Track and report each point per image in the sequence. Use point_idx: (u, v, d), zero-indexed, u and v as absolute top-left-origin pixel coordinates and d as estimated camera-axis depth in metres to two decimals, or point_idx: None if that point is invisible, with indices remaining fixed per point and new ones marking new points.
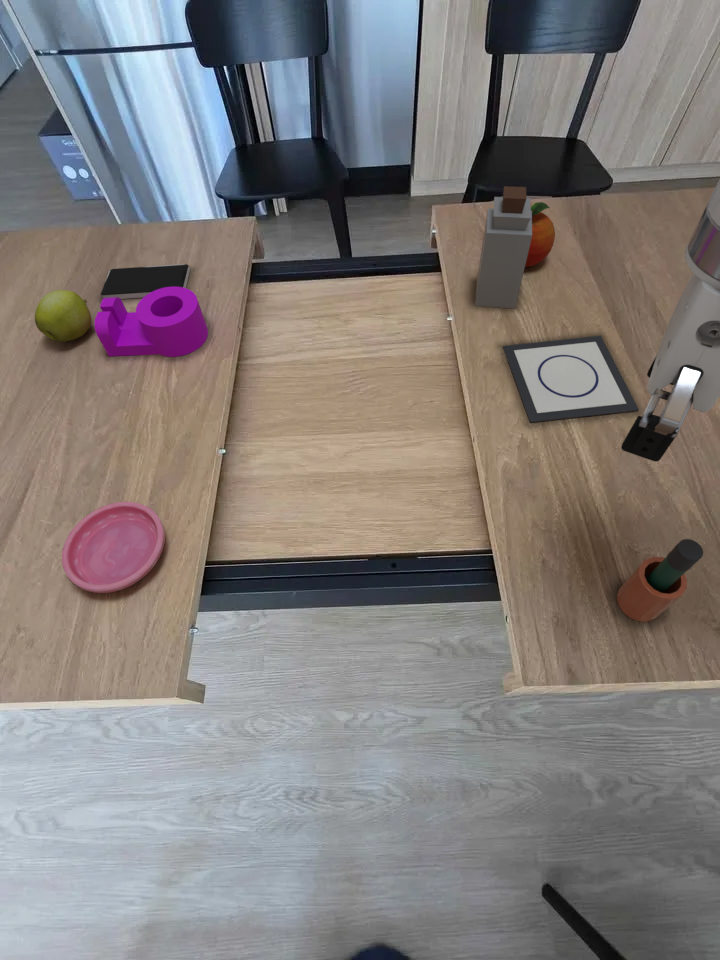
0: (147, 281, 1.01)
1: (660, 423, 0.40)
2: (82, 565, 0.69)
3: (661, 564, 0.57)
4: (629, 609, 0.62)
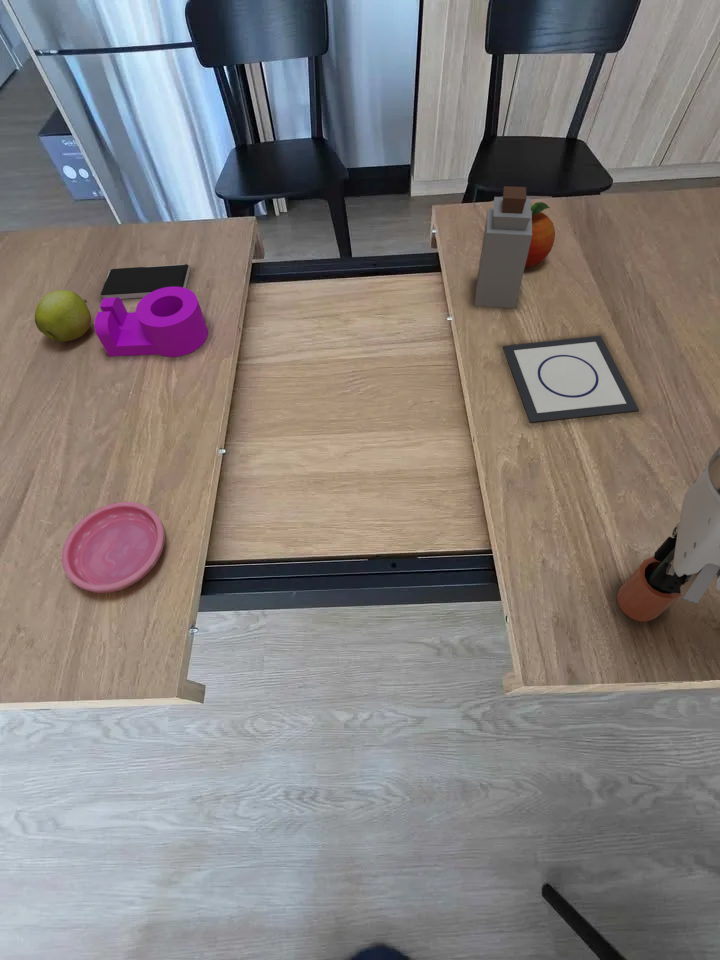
0: (147, 281, 1.01)
1: (682, 597, 0.50)
2: (82, 565, 0.69)
3: (661, 564, 0.57)
4: (629, 609, 0.62)
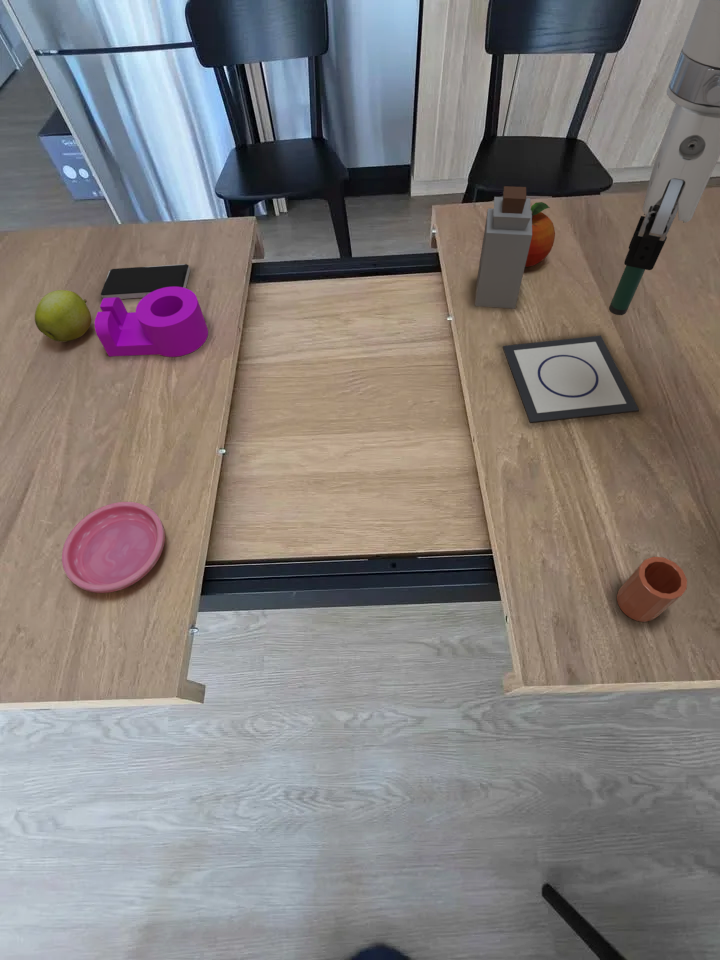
0: (147, 281, 1.01)
1: (649, 235, 0.57)
2: (82, 565, 0.69)
3: None
4: (629, 609, 0.62)
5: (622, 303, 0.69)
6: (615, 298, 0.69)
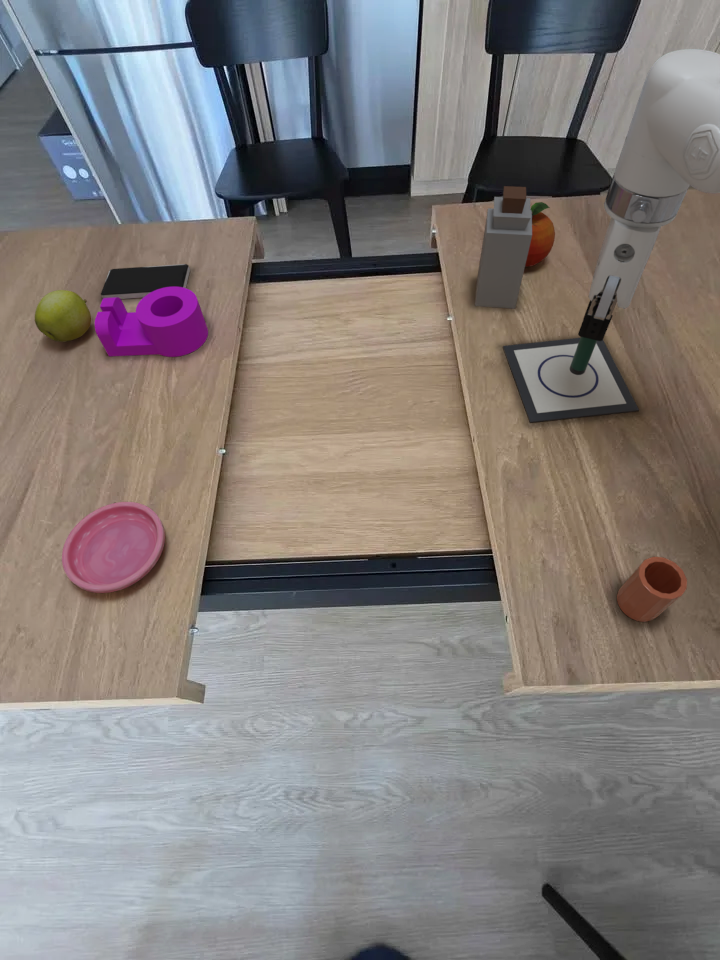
0: (147, 281, 1.01)
1: (594, 318, 0.66)
2: (82, 565, 0.69)
3: None
4: (629, 609, 0.62)
5: (580, 365, 0.78)
6: (573, 360, 0.79)
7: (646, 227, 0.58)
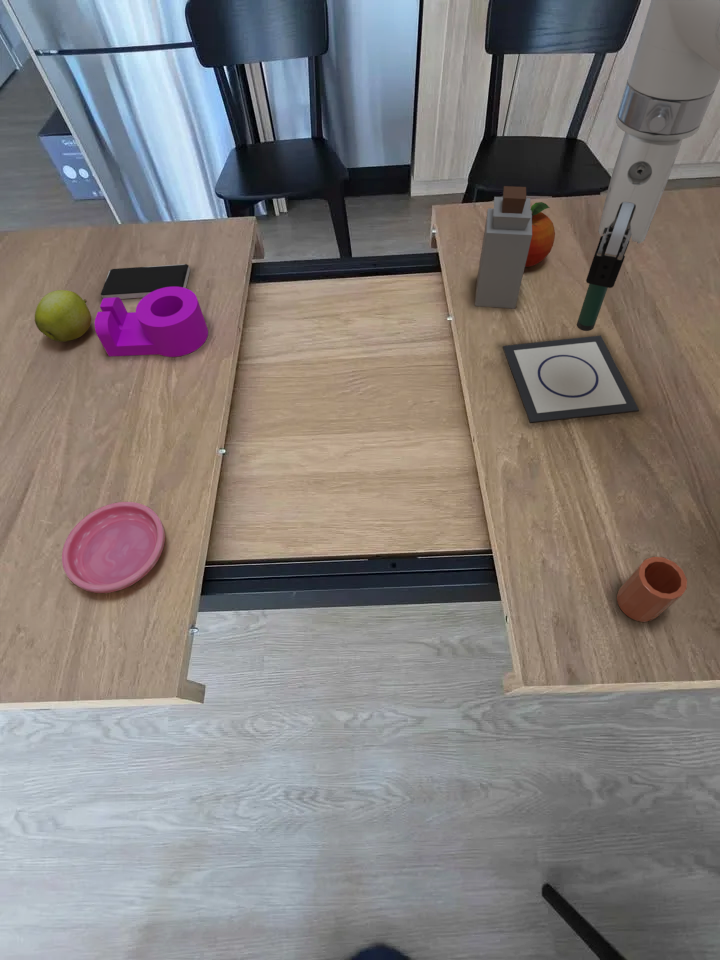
0: (147, 281, 1.01)
1: (605, 255, 0.59)
2: (82, 565, 0.69)
3: None
4: (629, 609, 0.62)
5: (588, 319, 0.71)
6: (581, 314, 0.71)
7: (665, 140, 0.51)
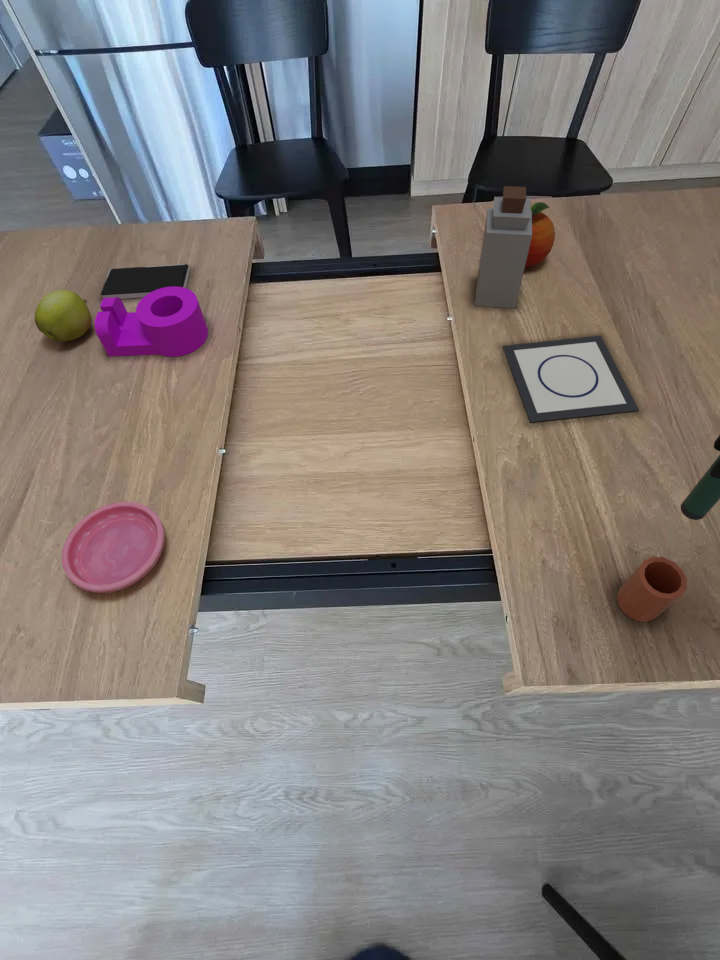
0: (147, 281, 1.01)
1: None
2: (82, 565, 0.69)
3: None
4: (629, 609, 0.62)
5: (701, 509, 0.51)
6: (690, 501, 0.51)
7: None
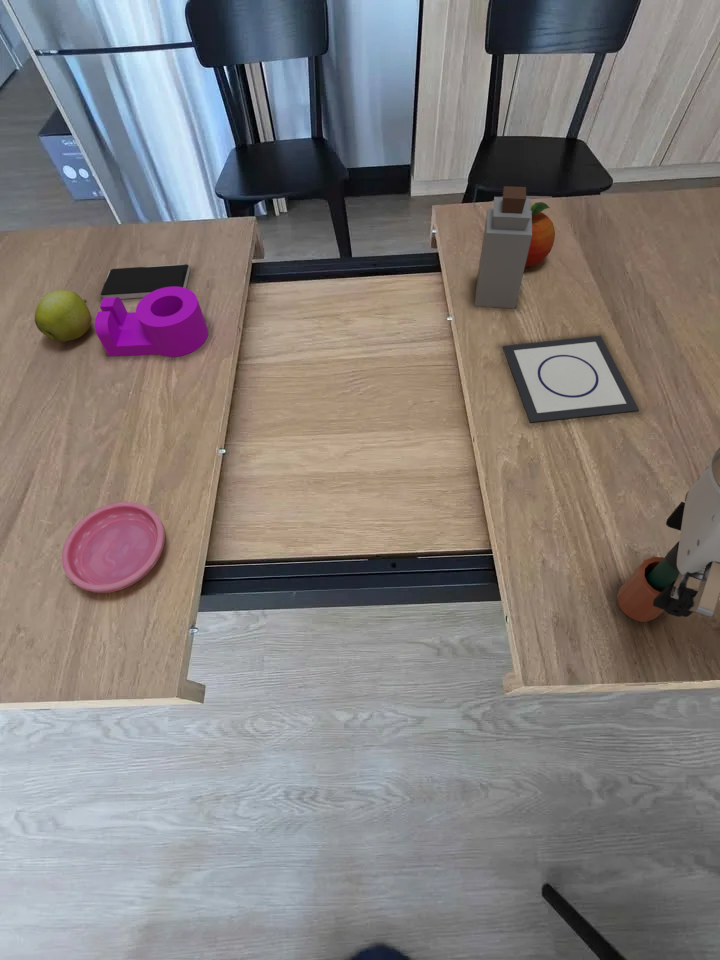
0: (147, 281, 1.01)
1: (695, 611, 0.46)
2: (82, 565, 0.69)
3: (660, 564, 0.57)
4: (629, 609, 0.62)
5: None
6: None
7: None
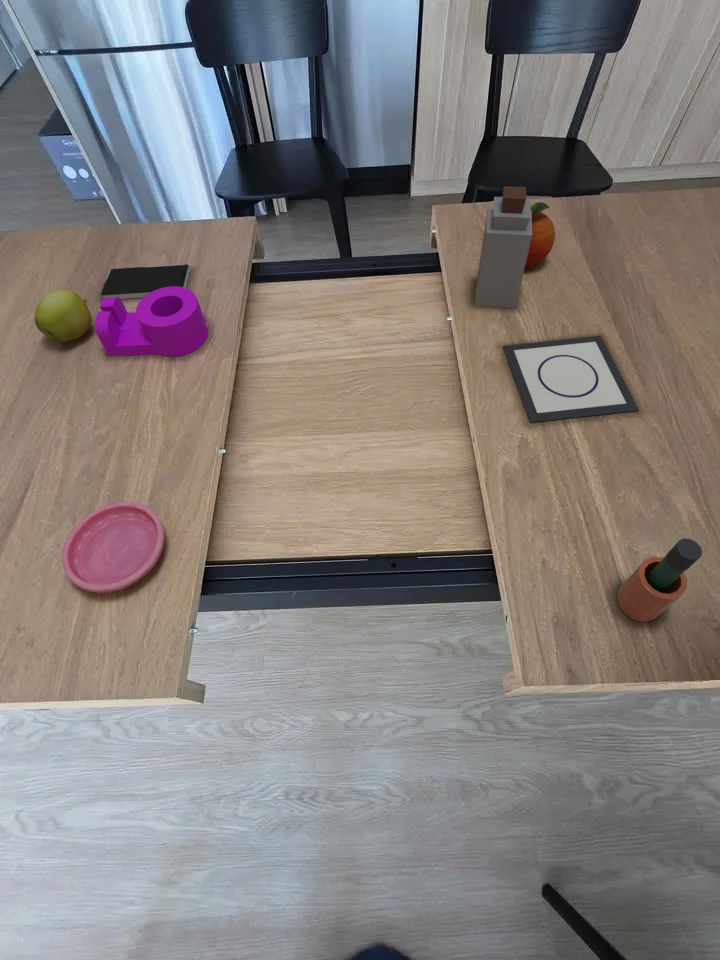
0: (147, 281, 1.01)
1: None
2: (82, 565, 0.69)
3: (660, 564, 0.57)
4: (629, 609, 0.62)
5: None
6: None
7: None
